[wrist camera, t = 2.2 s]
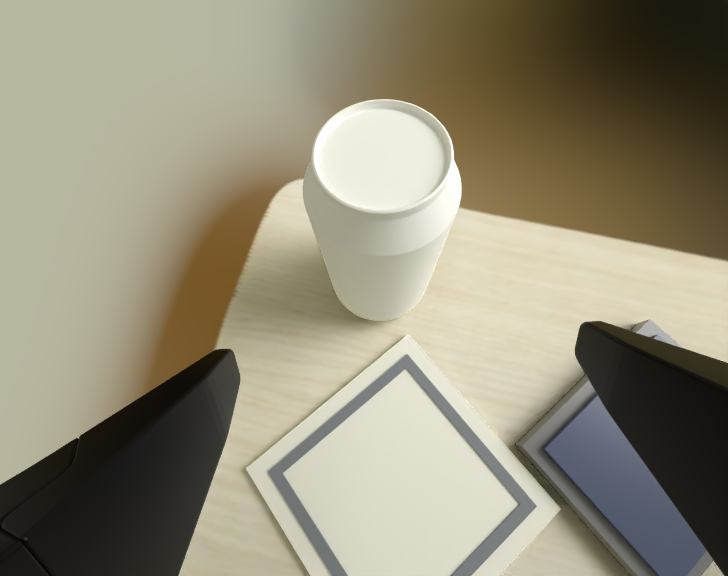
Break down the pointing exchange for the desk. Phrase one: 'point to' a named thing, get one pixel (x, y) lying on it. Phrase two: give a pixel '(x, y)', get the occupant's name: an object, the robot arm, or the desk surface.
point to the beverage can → (381, 203)
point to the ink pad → (613, 483)
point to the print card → (401, 480)
